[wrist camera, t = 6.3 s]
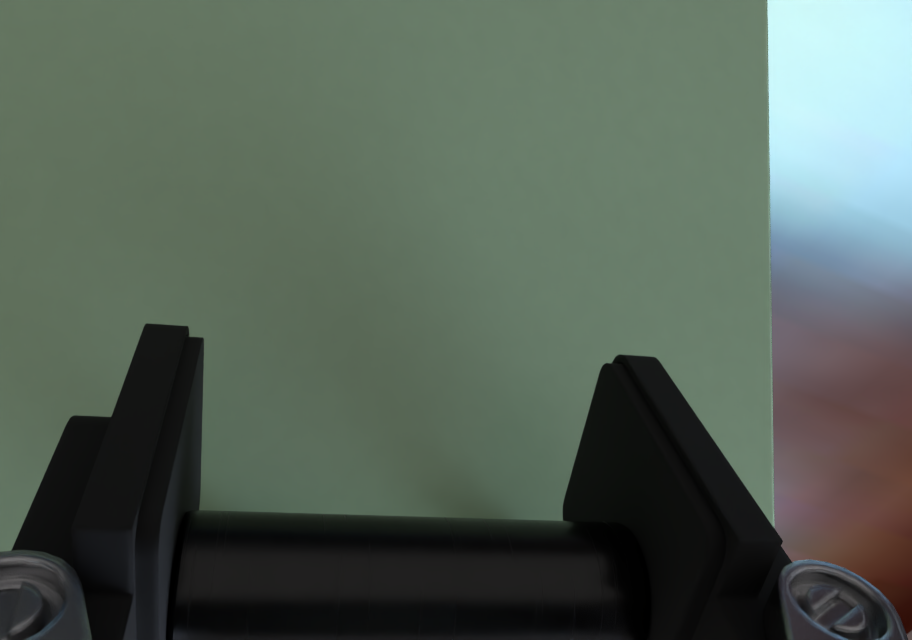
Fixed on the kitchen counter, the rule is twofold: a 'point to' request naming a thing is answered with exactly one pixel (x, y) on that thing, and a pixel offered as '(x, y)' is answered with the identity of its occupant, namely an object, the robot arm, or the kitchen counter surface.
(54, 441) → the green box lid
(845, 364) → the kitchen counter surface
